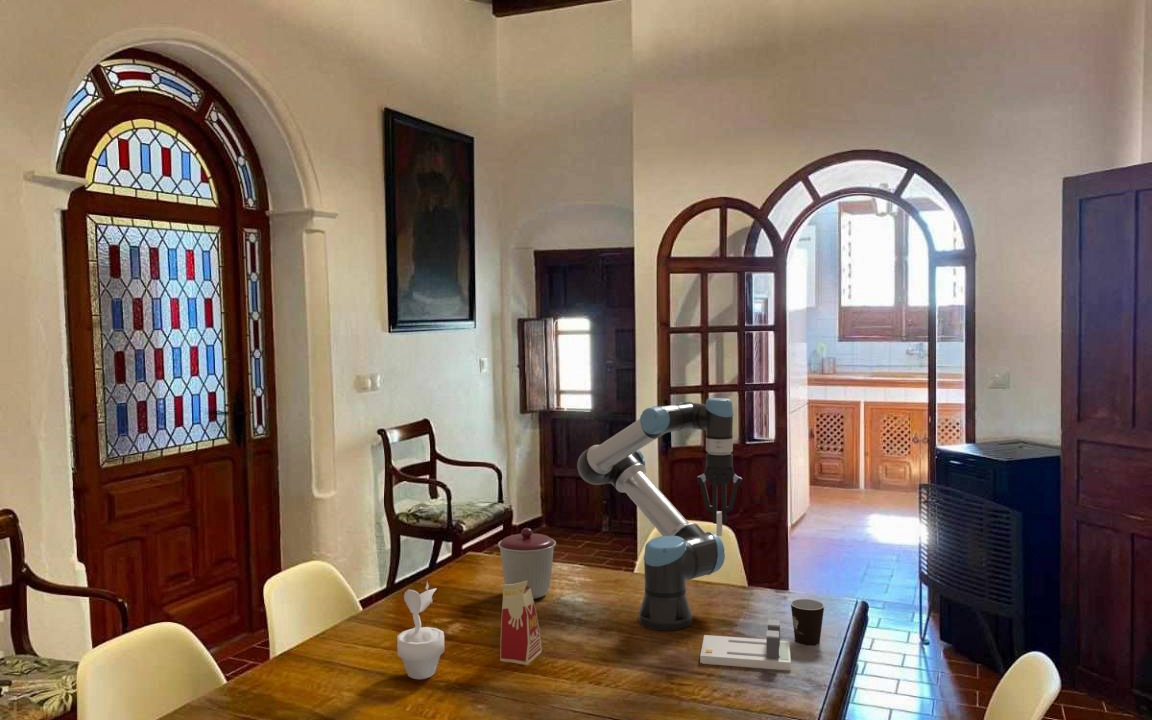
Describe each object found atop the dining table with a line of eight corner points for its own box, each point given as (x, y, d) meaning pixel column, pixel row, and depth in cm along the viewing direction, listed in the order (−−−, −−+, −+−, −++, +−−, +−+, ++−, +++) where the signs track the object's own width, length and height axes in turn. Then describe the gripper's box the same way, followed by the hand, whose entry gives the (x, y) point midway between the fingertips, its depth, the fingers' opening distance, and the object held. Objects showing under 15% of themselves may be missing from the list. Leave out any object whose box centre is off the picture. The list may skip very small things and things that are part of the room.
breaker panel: (700, 663, 214) (700, 654, 214) (704, 642, 228) (704, 634, 228) (790, 670, 210) (790, 661, 209) (789, 648, 223) (789, 640, 223)
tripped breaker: (766, 657, 212) (766, 636, 211) (766, 651, 216) (766, 630, 215) (779, 658, 211) (779, 636, 211) (778, 652, 215) (778, 631, 215)
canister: (555, 604, 259) (554, 535, 258) (495, 604, 259) (494, 536, 258) (557, 585, 277) (556, 521, 276) (501, 585, 278) (500, 521, 276)
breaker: (767, 645, 219) (767, 624, 219) (767, 639, 223) (767, 619, 223) (779, 646, 219) (779, 625, 218) (779, 640, 223) (779, 619, 222)
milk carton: (541, 651, 223) (540, 576, 222) (528, 665, 214) (527, 587, 213) (509, 647, 226) (508, 573, 225) (495, 661, 217) (493, 583, 216)
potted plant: (423, 689, 201) (421, 584, 200) (387, 678, 208) (384, 576, 206) (458, 669, 212) (456, 570, 211) (422, 660, 218) (420, 563, 217)
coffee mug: (825, 648, 223) (825, 610, 223) (791, 646, 225) (791, 608, 224) (821, 632, 234) (821, 596, 234) (789, 630, 236) (789, 594, 236)
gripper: (695, 454, 241) (695, 537, 242) (742, 455, 238) (742, 539, 239) (697, 450, 248) (697, 530, 249) (743, 451, 245) (743, 532, 246)
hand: (719, 534), depth 244 cm, fingers closed
